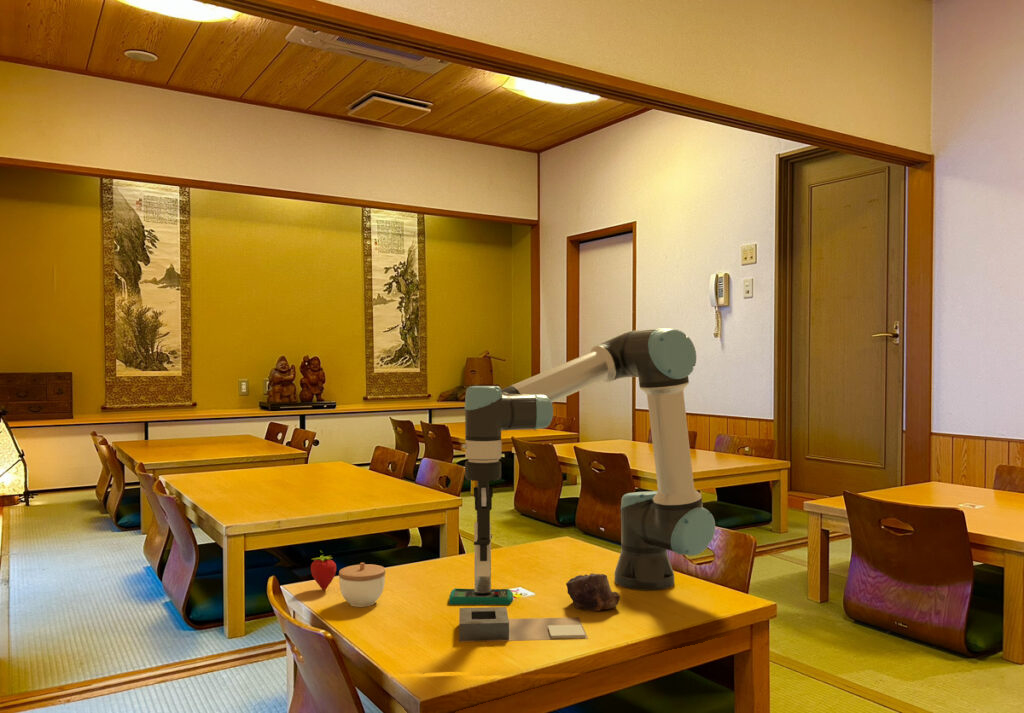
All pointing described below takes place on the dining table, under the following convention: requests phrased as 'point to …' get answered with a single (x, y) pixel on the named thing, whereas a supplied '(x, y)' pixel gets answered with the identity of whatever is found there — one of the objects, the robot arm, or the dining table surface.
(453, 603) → the digital multimeter
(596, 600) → the rock
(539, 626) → the board
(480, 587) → the silver metal post
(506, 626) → the block
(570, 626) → the pad
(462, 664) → the dining table surface
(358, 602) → the lidded jar
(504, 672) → the dining table surface
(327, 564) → the strawberry
